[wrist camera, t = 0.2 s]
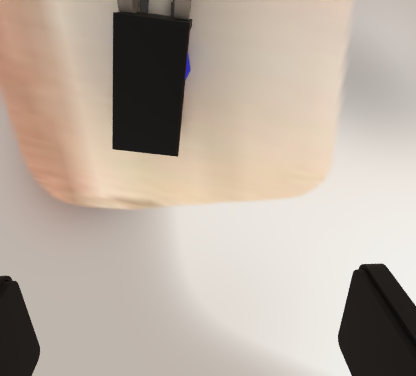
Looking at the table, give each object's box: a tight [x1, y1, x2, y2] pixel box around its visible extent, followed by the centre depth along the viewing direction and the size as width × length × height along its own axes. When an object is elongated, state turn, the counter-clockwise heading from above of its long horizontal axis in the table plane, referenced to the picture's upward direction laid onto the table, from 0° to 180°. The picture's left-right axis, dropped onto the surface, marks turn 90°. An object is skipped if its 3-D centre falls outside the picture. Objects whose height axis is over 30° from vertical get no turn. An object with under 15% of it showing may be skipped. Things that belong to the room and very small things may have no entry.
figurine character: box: [113, 0, 192, 156], centre depth 32 cm, size 7×8×15 cm
